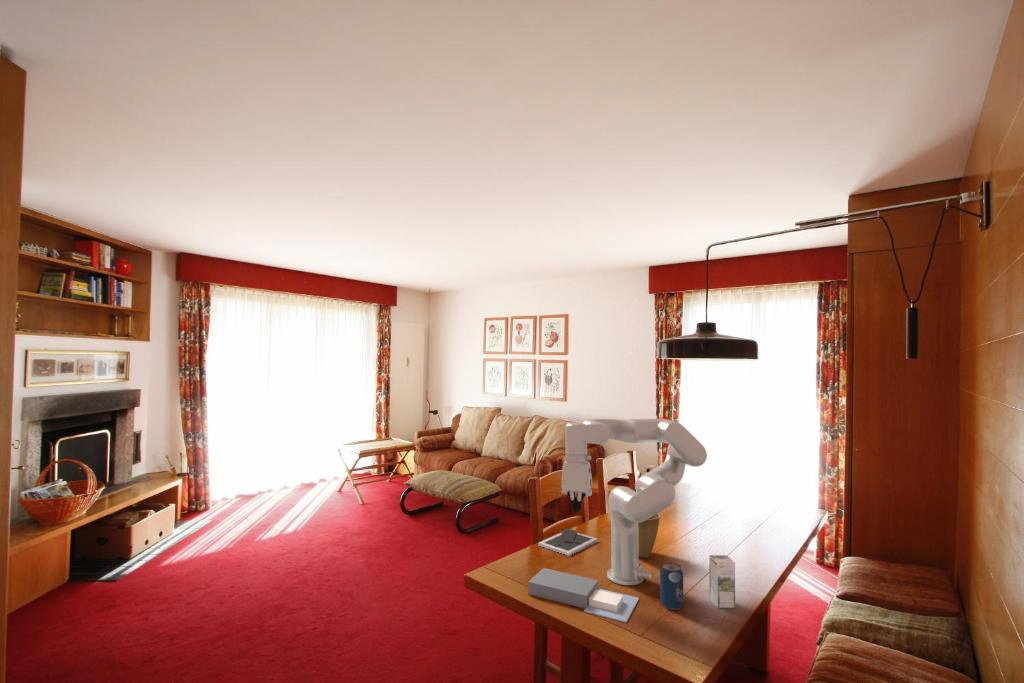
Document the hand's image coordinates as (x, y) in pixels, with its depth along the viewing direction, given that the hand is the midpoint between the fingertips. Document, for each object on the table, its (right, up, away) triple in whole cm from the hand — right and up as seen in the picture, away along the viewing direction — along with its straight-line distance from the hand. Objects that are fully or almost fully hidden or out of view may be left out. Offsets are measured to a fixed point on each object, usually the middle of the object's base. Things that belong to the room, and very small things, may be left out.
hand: (576, 511), depth 165 cm
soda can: (+28, -24, -16) cm, 40 cm away
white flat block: (+7, -23, -16) cm, 29 cm away
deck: (-6, -24, -8) cm, 26 cm away
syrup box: (+44, -24, -16) cm, 52 cm away
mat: (+9, -24, -16) cm, 30 cm away
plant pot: (+29, -26, +24) cm, 46 cm away
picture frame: (+1, -27, +35) cm, 44 cm away
